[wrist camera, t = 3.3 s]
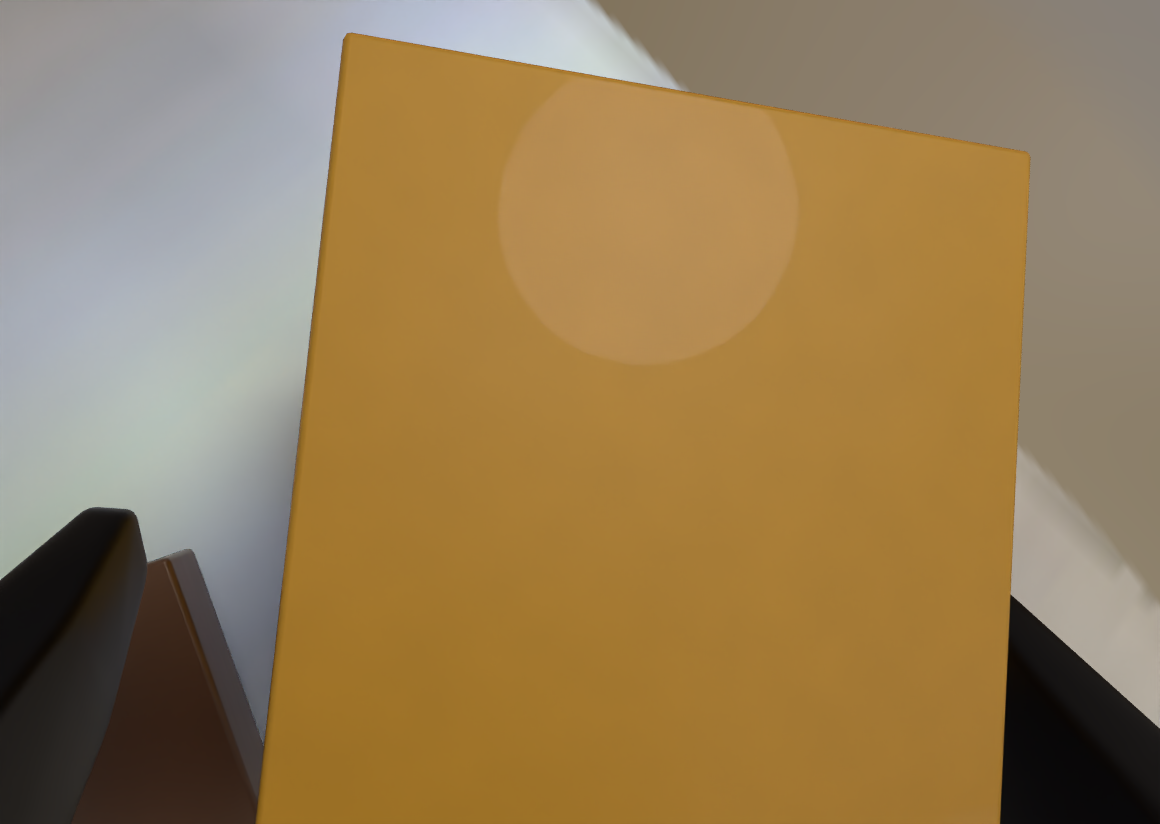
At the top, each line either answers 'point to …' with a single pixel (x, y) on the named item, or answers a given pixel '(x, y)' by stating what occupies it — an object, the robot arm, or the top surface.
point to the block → (646, 461)
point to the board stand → (176, 716)
